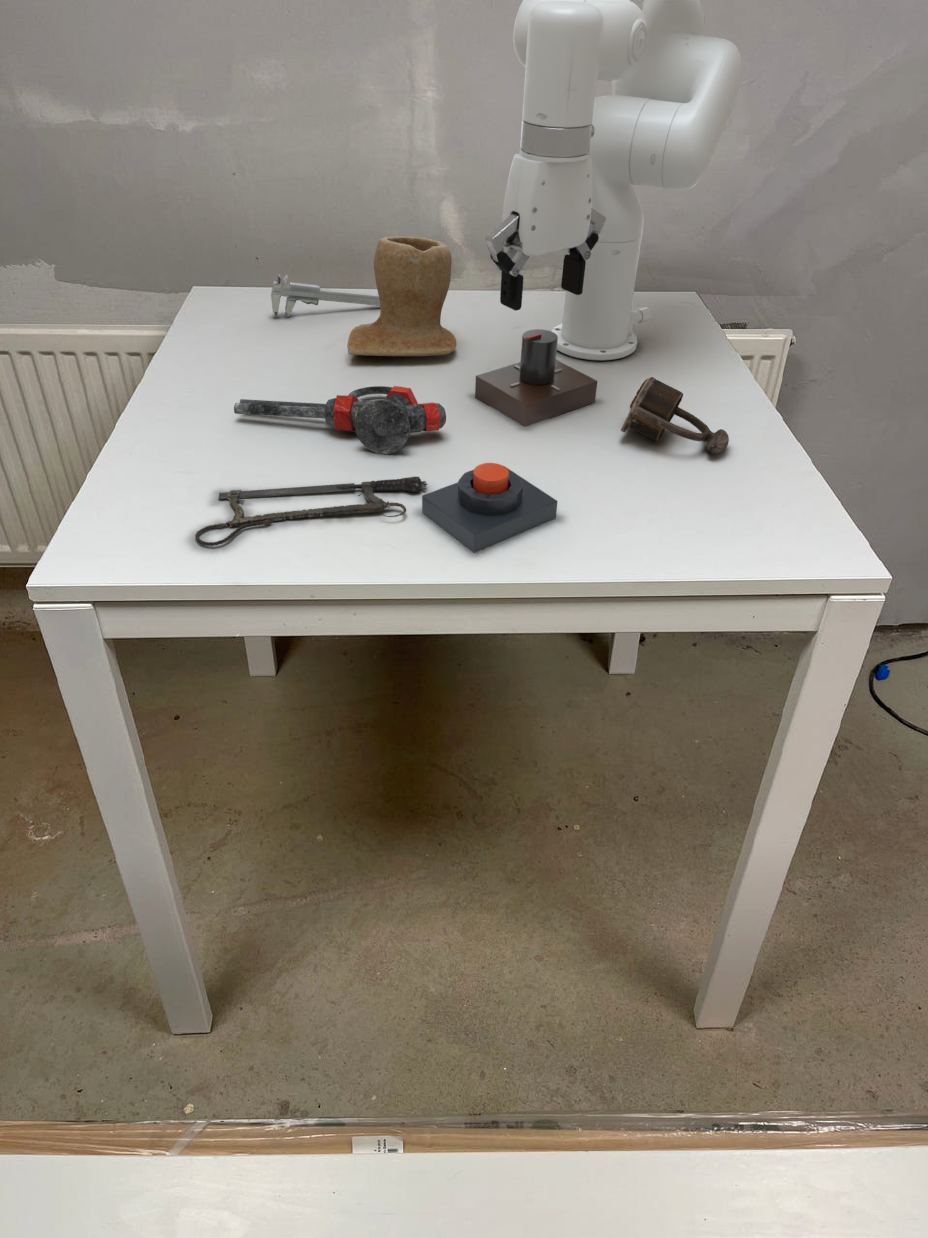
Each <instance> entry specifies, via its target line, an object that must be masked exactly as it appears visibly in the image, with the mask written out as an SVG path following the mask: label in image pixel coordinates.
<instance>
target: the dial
mask: <svg viewBox="0 0 928 1238" xmlns="http://www.w3.org/2000/svg"><path fill="white" fill-rule="evenodd" d="M551 331H552V330H547V329H539V328H537V329H536V328H535V329H529V330H526V331H524V332H523V333H522V335H521V349H520V361H519V362H520V376H519V377H520V379H521V380H522V381H523V382H525V383H528V384H532V385H545V384H549V383H551V382H552V381H553V380H554V373H555V362H556V360H557V351H558V350H557V342H558V336H557V335H556V334H555V333H554V332H551Z"/></svg>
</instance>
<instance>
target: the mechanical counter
mask: <svg viewBox="0 0 928 1238" xmlns="http://www.w3.org/2000/svg"><path fill="white" fill-rule="evenodd" d="M683 397H684V392H682V391H680V390H678V389H676V388H674V387H672V386H670V385H668V384H667V383H664V382H662V381H660V380H659V379H657V378H656V377H654V376H650V377H648V378H646V379H645V380H644V381H643V382H642V383H641V385H640V387H639V388H638V389H637V391H636V394H635V395H634V397H633V399H632V400H631V402H630V405H629V412H628V414H627V417H625V420H624V422H623V424H622V426H621V428H620V432H622V433H625V432H627V430H629V429H631V430H634V431H636V432H637V433H639V434H641V435H643V436H645V437H647V438H649V439H650V440H653V441H655V442H659V441H660V439H661V438H662V436H663V434H664V433H665V431H667V432H669V433H670V434H674V435H675V436H679V437H681V438H684V439H687V440H691V441H695V442H703V443H706V444H707V451H708V452H710V454H712V455H716V454H720V453H721V452H723V451H725V450H726V449H727V447H728V446H729V441H730V438H729V434H728V432H727V431H725V429H722V428H720V429H718V430H717V431H715V432H713V431H711V430H710V428H709V426H708V425H707V424H706V423H705V422H703V421H702V419H701V420H700V418H698V417H697V416H695V415H694V414H692V413H690V412H688V411H686V410H685V409H683V408H681V407H679V406H680V404H681V402H682V400H683ZM674 416H676V417H678V418H680V419H683V420H684V421H686V422H688V423H689V424H690V425H692V426H693V427H695V428H696V429H697V430H698V431H699V432H695V431H691V430H689V429H686V428H684V427H681V426H680V425H676V424H675V423H672V422H671V421H672V420H673V417H674Z"/></svg>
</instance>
